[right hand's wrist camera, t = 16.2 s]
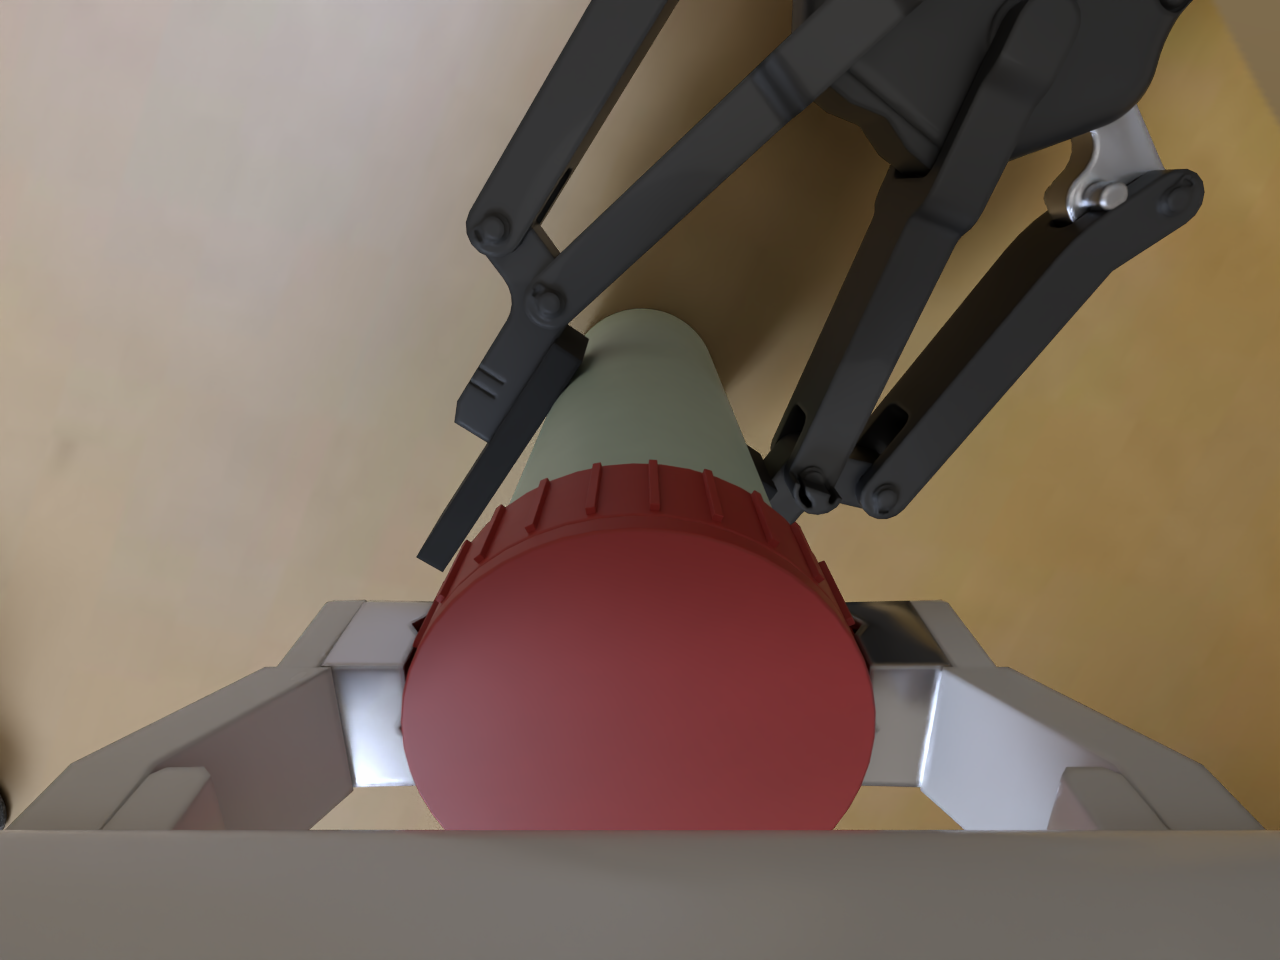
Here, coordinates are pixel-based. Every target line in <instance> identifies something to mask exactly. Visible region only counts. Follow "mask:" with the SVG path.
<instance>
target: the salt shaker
mask: <svg viewBox="0 0 1280 960" xmlns="http://www.w3.org/2000/svg"><path fill="white" fill-rule="evenodd" d="M6 818H7V815H6V808H5V803H4V801H3V799H2V797H1V795H0V830H3V829H4V826H5V822H6Z"/></svg>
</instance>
